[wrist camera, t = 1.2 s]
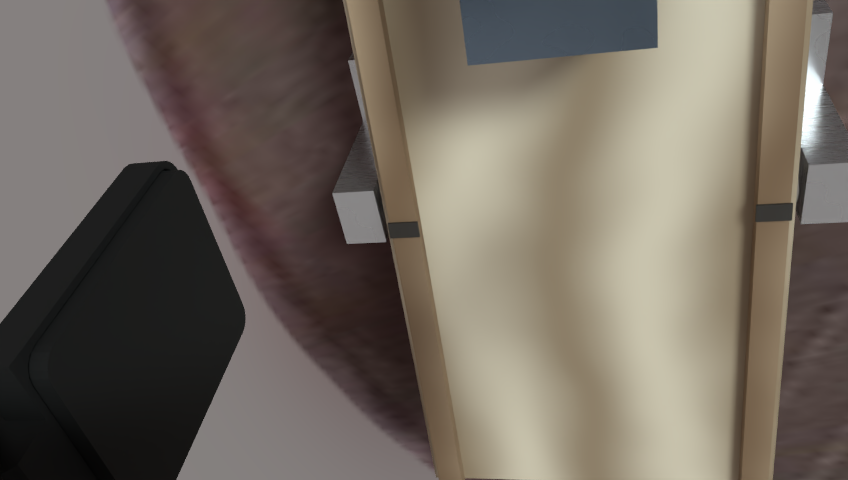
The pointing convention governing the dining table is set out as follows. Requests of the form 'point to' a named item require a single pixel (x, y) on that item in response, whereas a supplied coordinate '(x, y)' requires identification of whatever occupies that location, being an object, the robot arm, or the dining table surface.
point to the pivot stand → (818, 168)
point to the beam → (592, 238)
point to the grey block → (555, 28)
